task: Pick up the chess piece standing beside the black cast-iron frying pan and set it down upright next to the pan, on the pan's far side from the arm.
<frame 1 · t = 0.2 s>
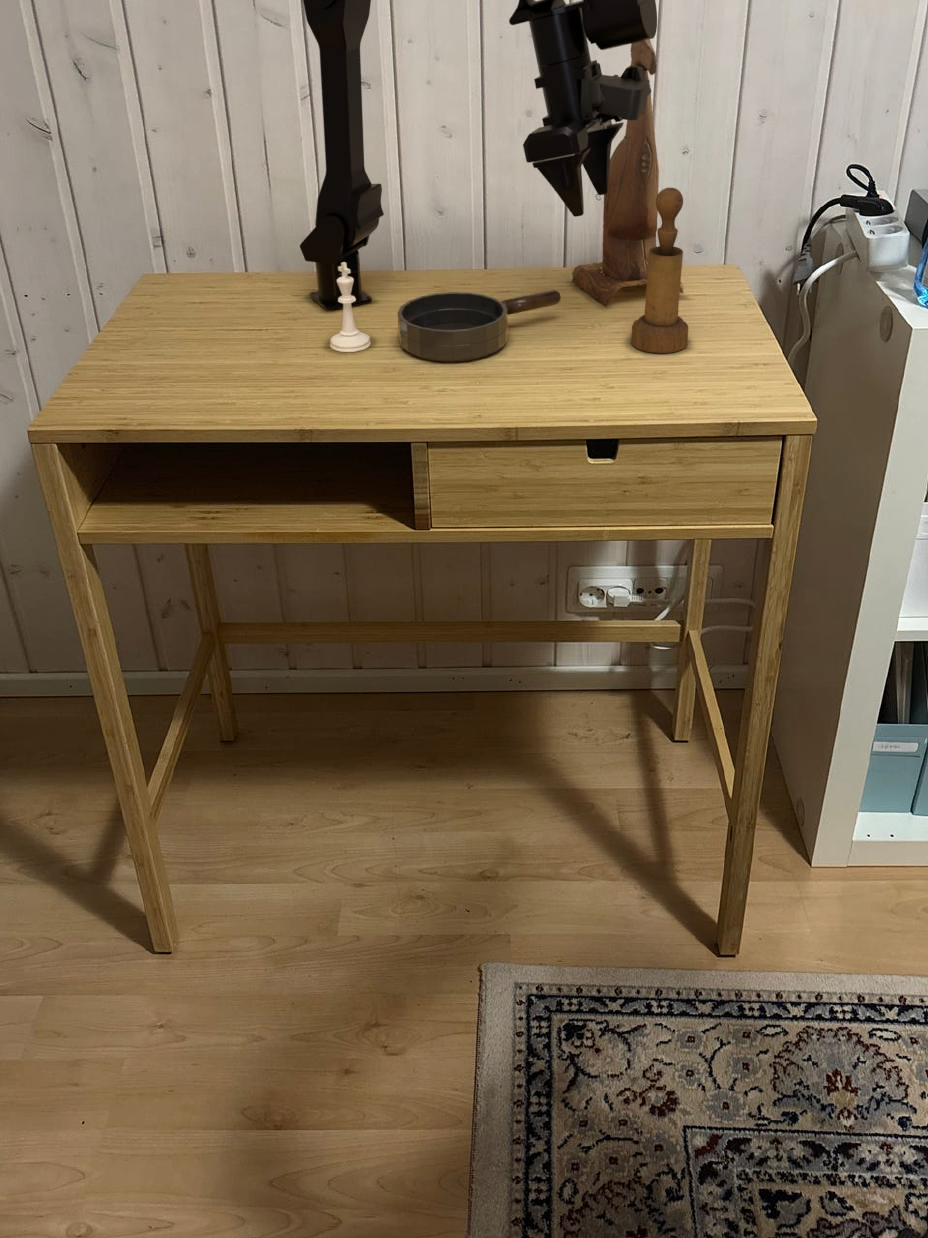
hand: (591, 204, 135), 15 cm above the table, tool pointing down, fingers open, 9 cm apart
bird sculpture: (625, 291, 156), on the table
chess piece: (350, 345, 143), on the table
pan: (453, 342, 142), on the table
mortar and pestle: (658, 345, 141), on the table
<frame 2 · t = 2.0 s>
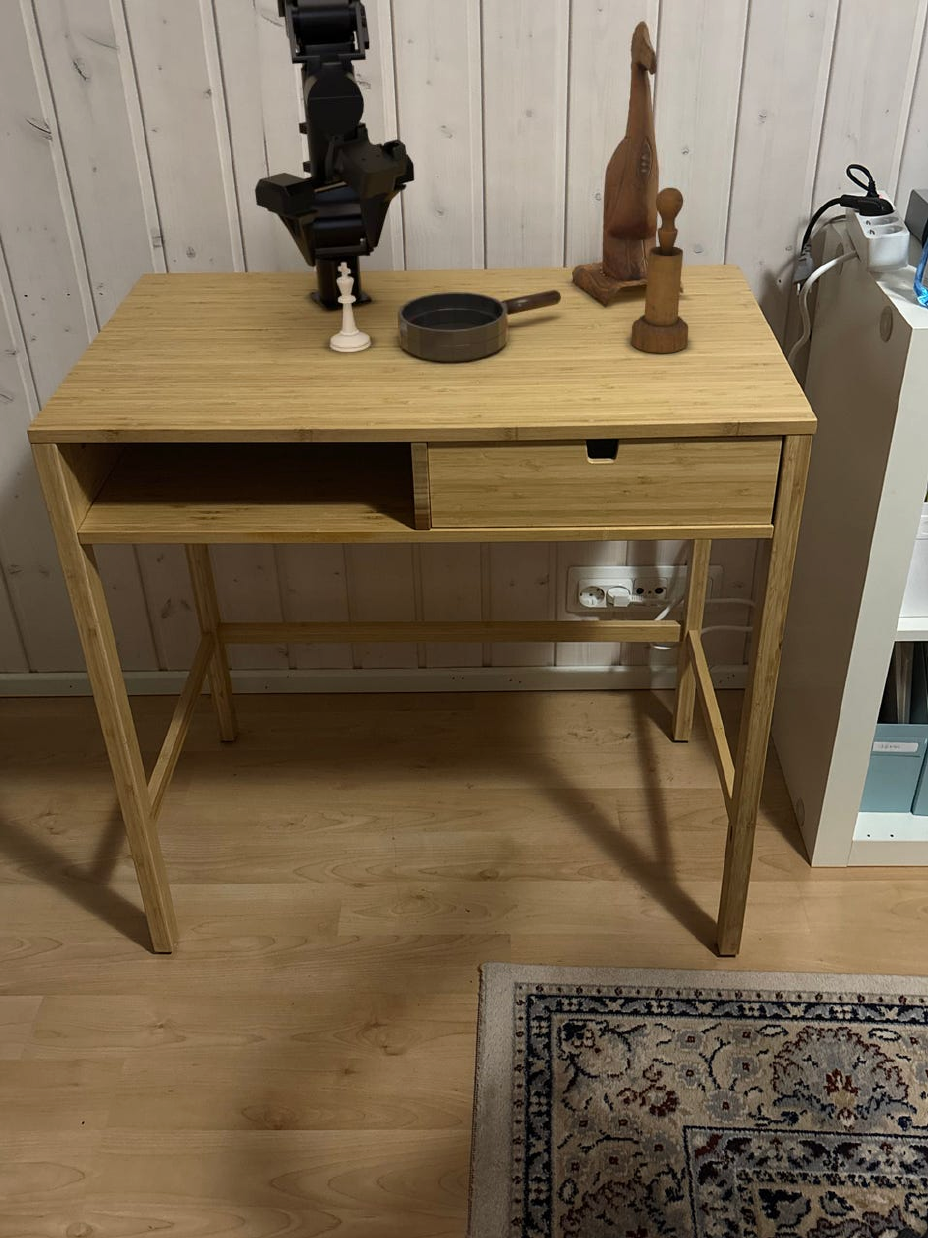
hand: (343, 256, 137), 11 cm above the table, tool pointing down, fingers open, 9 cm apart
nothing on the table moved.
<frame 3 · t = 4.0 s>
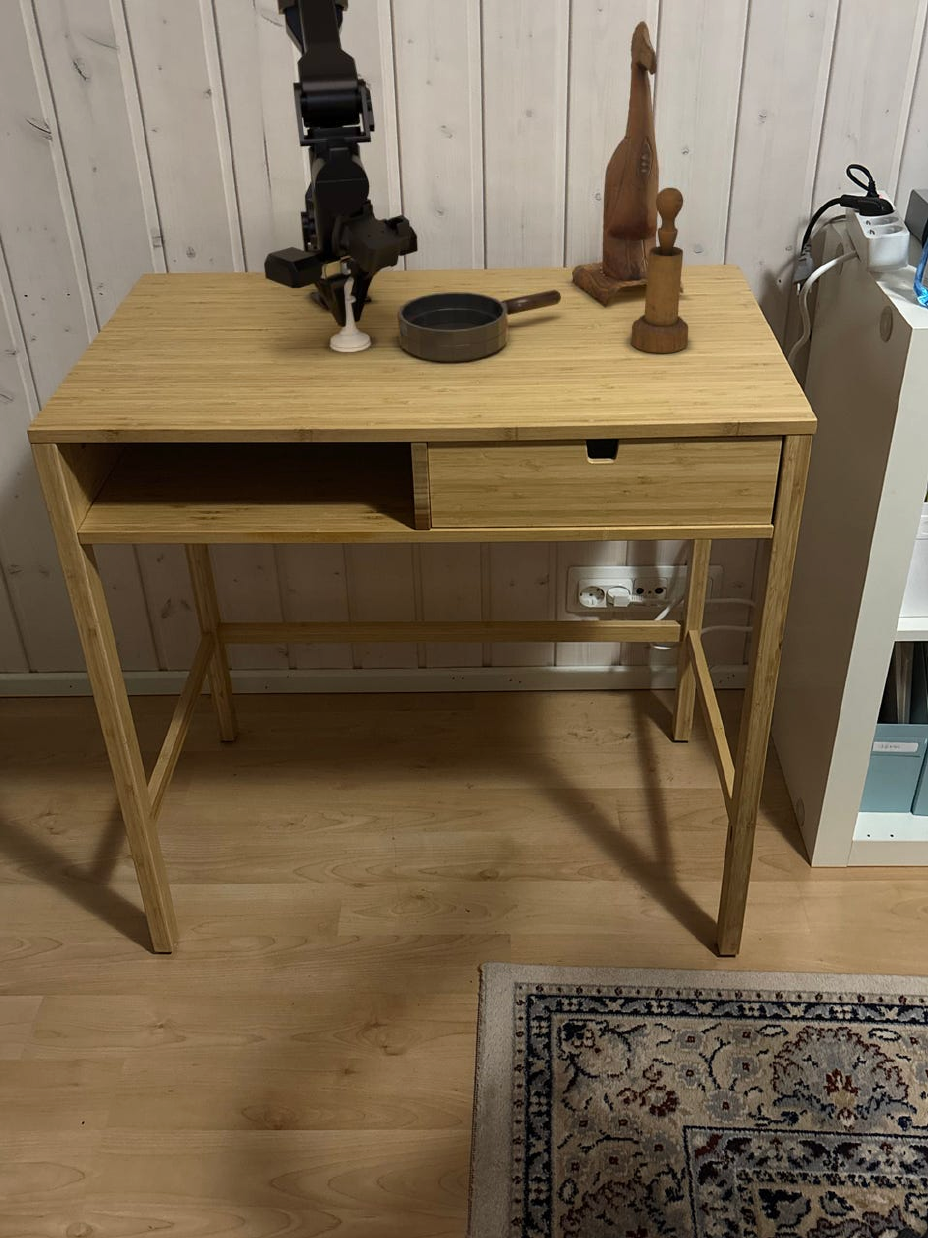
hand: (348, 323, 141), 3 cm above the table, tool pointing down, fingers closed on chess piece
chess piece: (350, 345, 143), on the table, touching gripper
everything else where it was.
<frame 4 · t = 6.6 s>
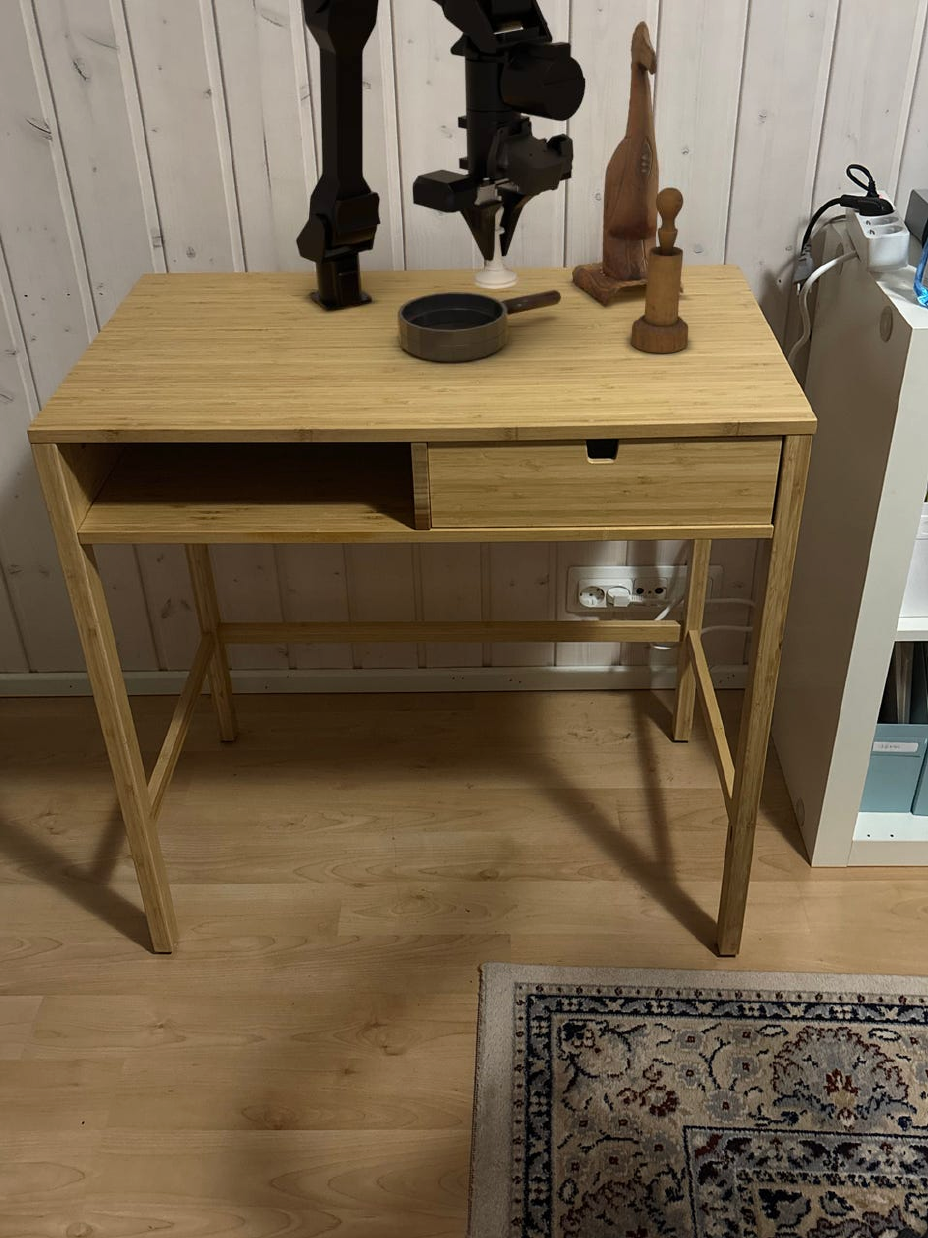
hand: (495, 257, 129), 13 cm above the table, tool pointing down, fingers closed on chess piece
chess piece: (495, 282, 131), point 10 cm above the table, touching gripper
everything else where it was.
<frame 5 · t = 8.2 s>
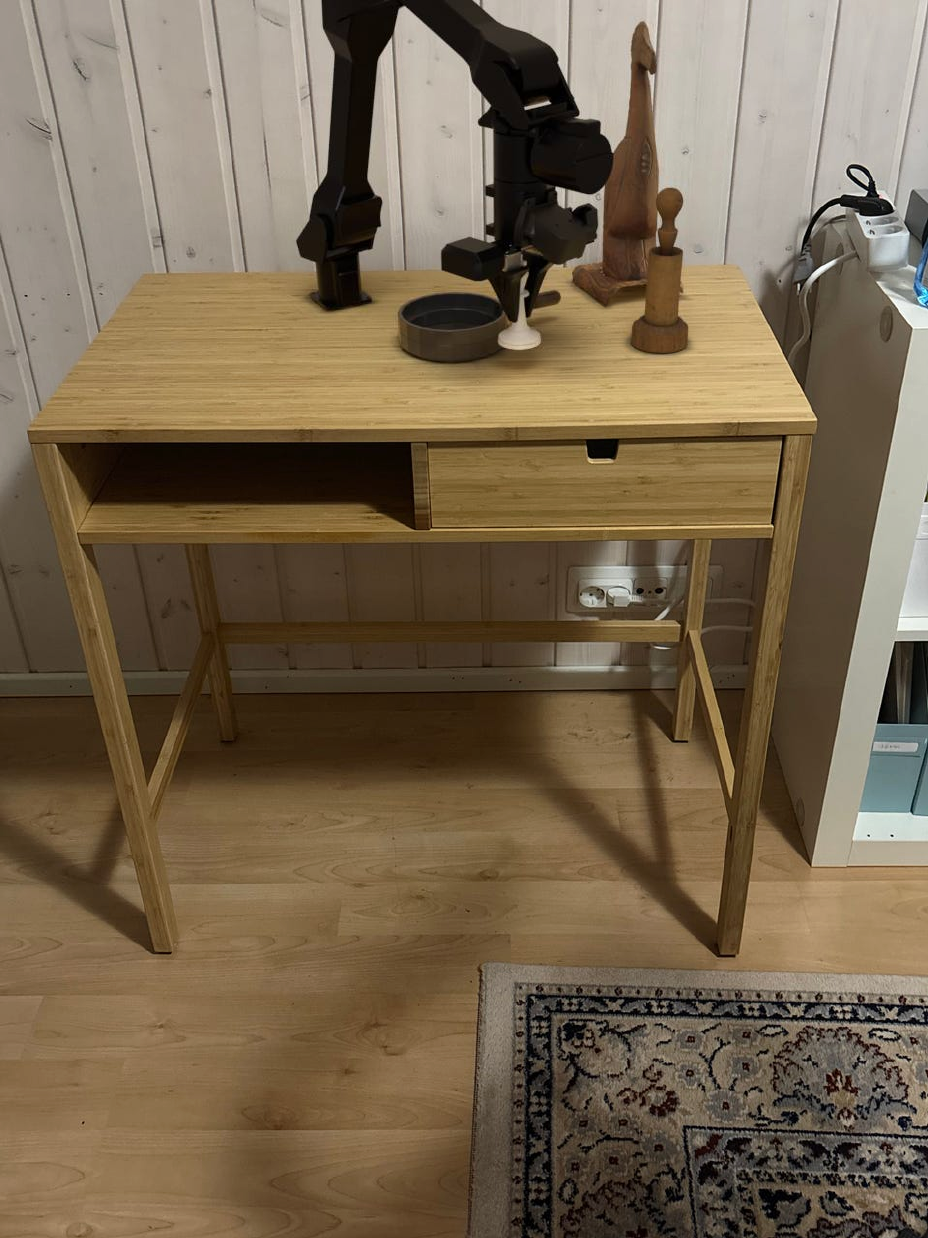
hand: (519, 319, 132), 6 cm above the table, tool pointing down, fingers closed on chess piece
chess piece: (519, 342, 134), point 3 cm above the table, touching gripper
everything else where it was.
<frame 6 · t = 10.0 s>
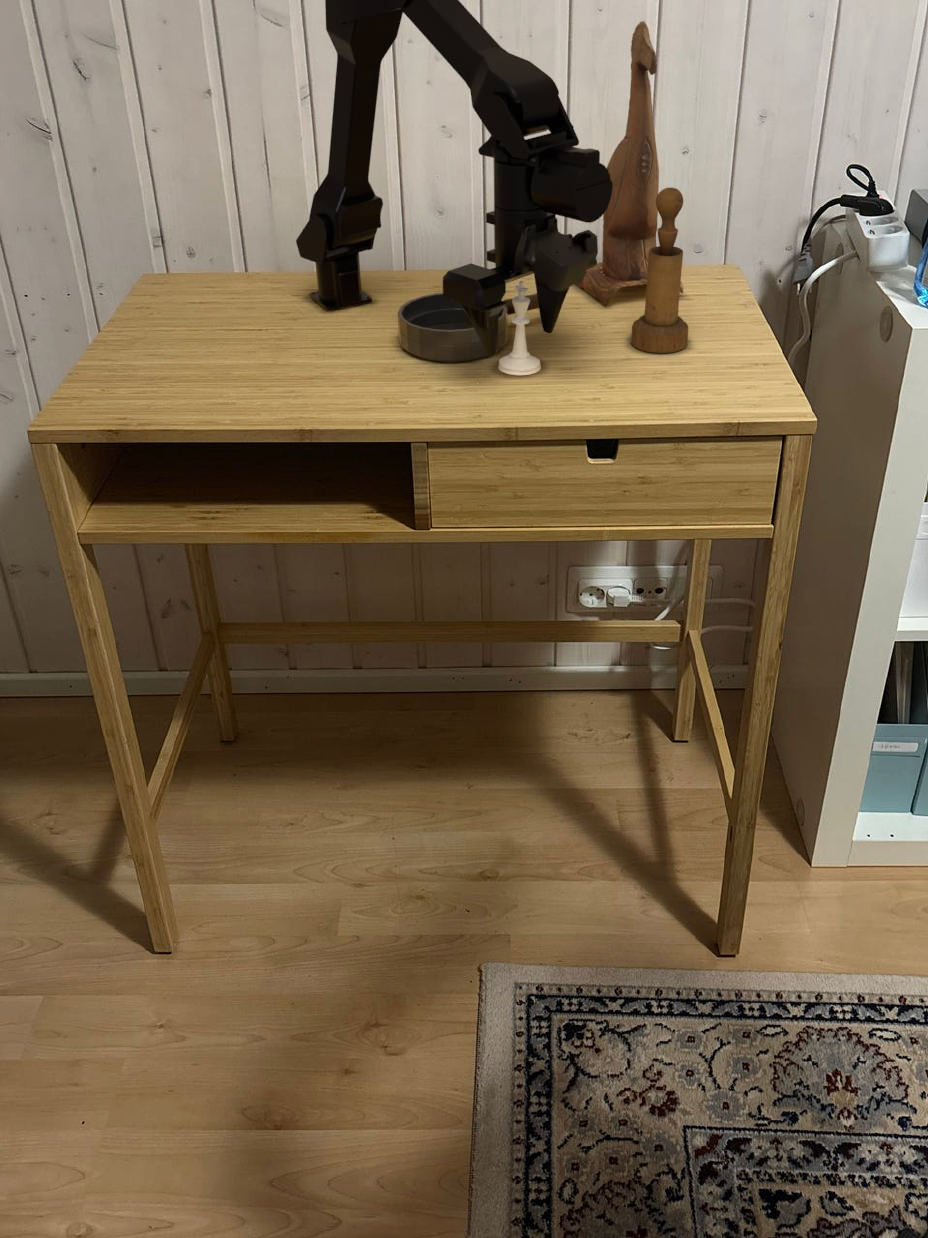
hand: (520, 343, 134), 3 cm above the table, tool pointing down, fingers open, 9 cm apart
chess piece: (519, 369, 136), on the table
everything else where it was.
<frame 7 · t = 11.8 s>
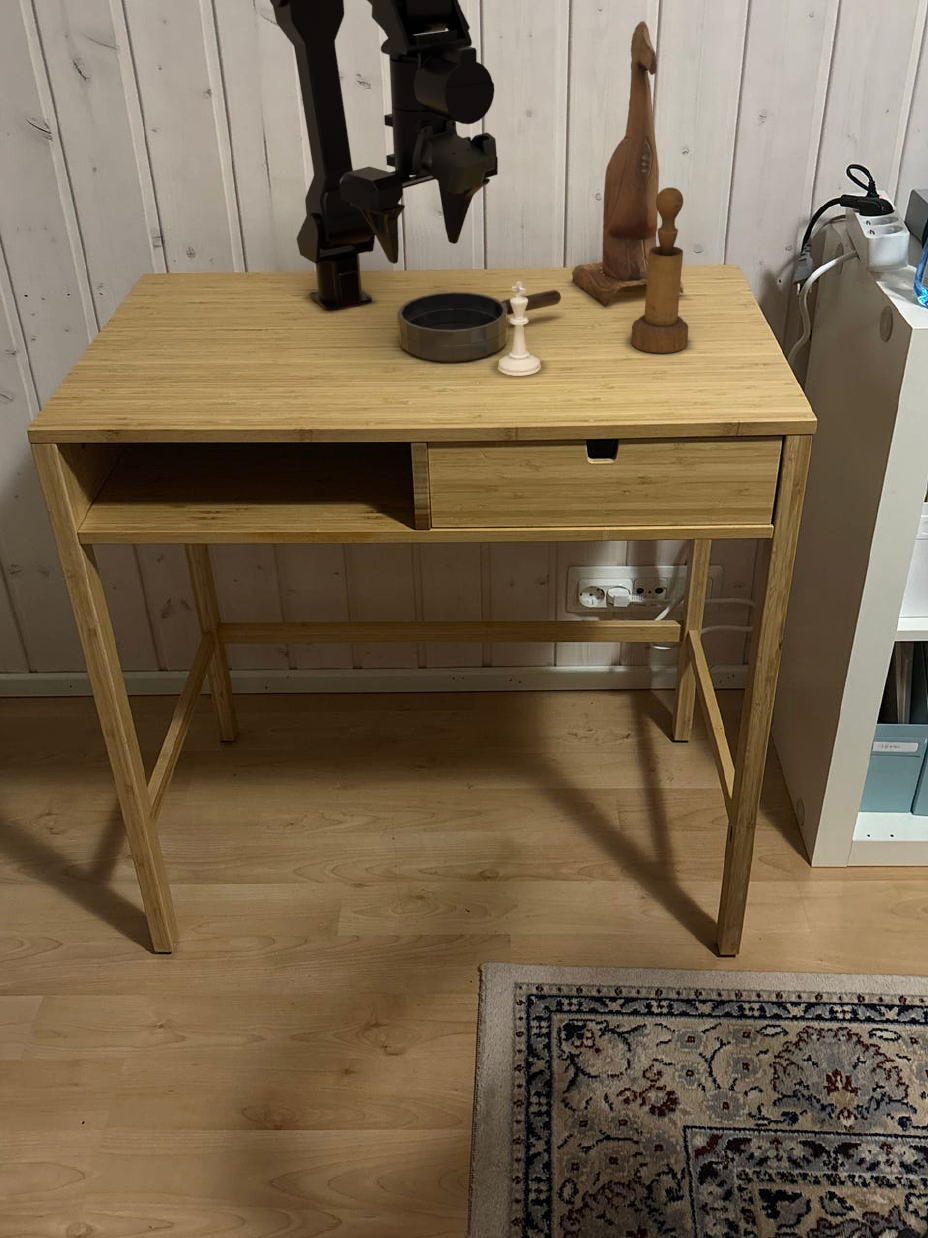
hand: (423, 252, 133), 12 cm above the table, tool pointing down, fingers open, 9 cm apart
nothing on the table moved.
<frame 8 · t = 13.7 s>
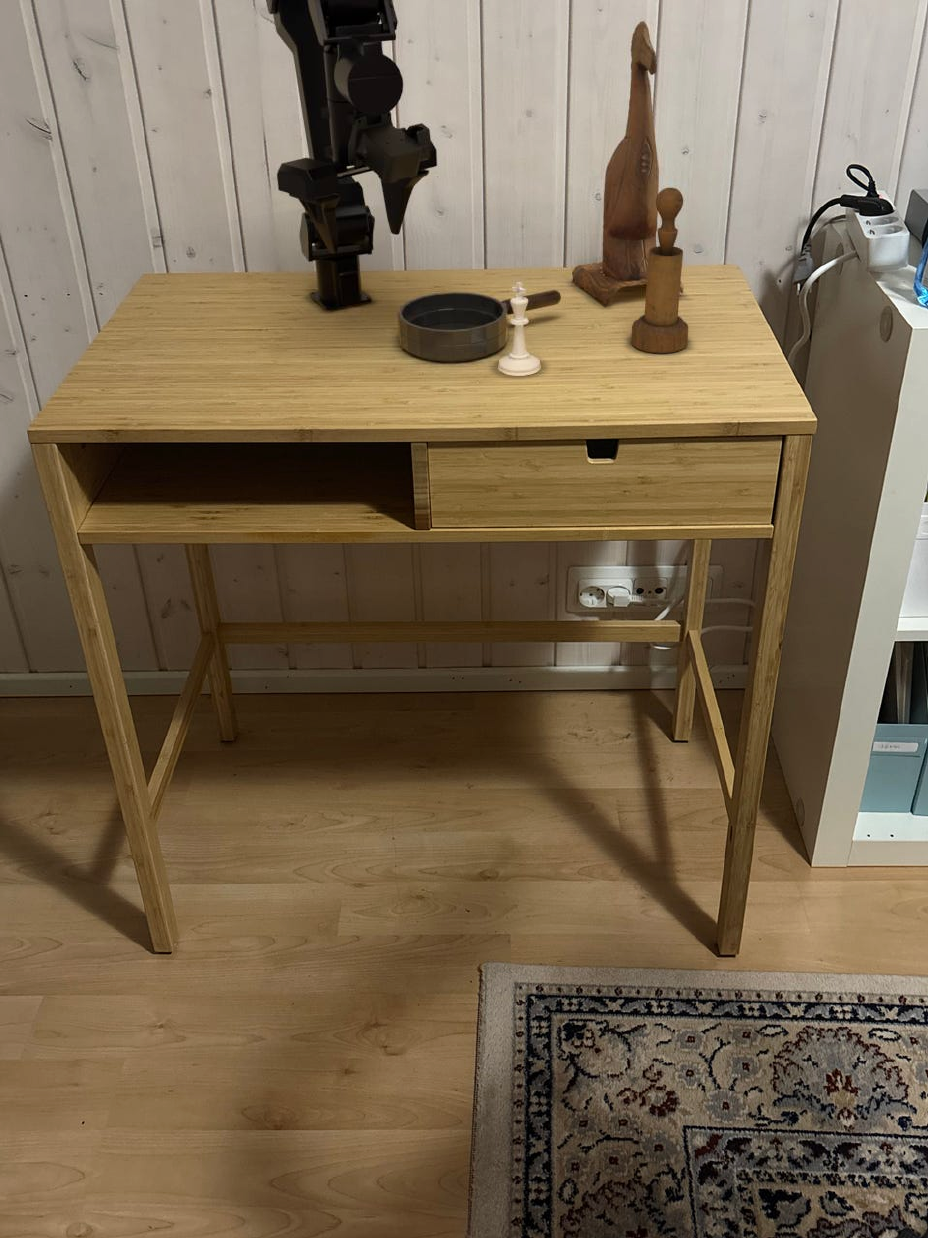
hand: (364, 243, 135), 13 cm above the table, tool pointing down, fingers open, 9 cm apart
nothing on the table moved.
at the end: chess piece inside the target area (0.9 cm from its centre), on the table; chess piece tilted 0°; the gripper is holding nothing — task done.
